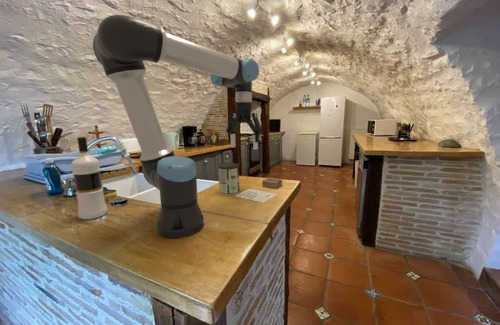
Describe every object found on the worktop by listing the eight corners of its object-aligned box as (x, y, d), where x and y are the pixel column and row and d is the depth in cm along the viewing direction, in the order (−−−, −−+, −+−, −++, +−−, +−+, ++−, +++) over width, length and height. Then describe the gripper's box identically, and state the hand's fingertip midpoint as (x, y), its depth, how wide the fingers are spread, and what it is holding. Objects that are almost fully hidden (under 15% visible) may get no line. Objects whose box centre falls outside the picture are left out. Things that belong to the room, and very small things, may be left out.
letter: (263, 203, 95) (262, 202, 94) (234, 196, 104) (234, 195, 103) (277, 194, 105) (277, 194, 105) (249, 189, 114) (249, 188, 114)
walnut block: (276, 190, 113) (276, 183, 112) (262, 188, 117) (262, 180, 116) (282, 186, 119) (282, 179, 118) (269, 184, 123) (269, 177, 123)
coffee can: (227, 187, 117) (226, 162, 114) (243, 191, 111) (243, 163, 109) (214, 193, 108) (213, 165, 105) (231, 197, 103) (230, 167, 100)
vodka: (73, 222, 78) (59, 138, 73) (84, 211, 87) (72, 136, 81) (103, 218, 81) (91, 137, 75) (111, 209, 90) (100, 135, 84)
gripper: (271, 101, 96) (270, 149, 100) (229, 104, 110) (229, 145, 114) (261, 100, 90) (261, 151, 94) (218, 103, 105) (219, 147, 108)
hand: (243, 148), depth 104 cm, fingers open, 13 cm apart
